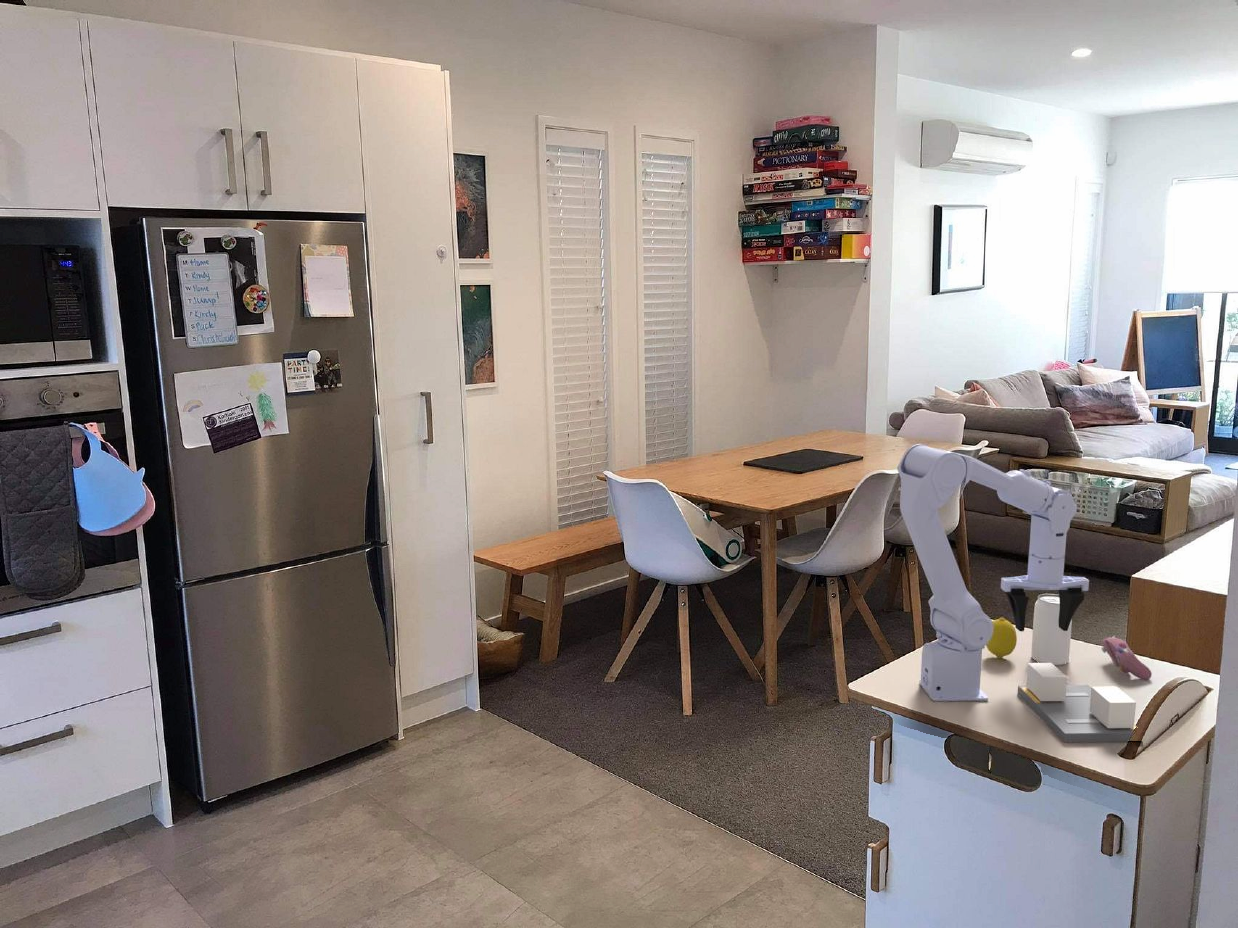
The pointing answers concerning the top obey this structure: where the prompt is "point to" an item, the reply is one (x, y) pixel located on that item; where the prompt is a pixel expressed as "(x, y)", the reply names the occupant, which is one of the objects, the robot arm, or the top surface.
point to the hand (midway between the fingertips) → (1041, 629)
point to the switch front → (1112, 707)
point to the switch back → (1046, 682)
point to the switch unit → (1074, 717)
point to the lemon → (1002, 638)
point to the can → (1049, 632)
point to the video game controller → (1125, 658)
